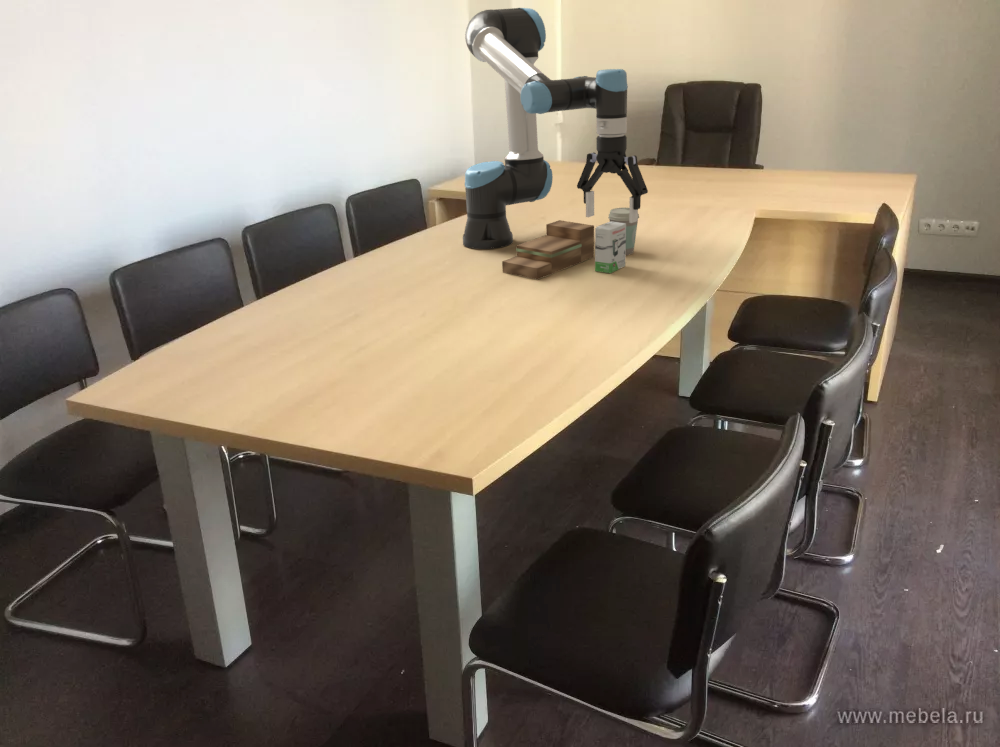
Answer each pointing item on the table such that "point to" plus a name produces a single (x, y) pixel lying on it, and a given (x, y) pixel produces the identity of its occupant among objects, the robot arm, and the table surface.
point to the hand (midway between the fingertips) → (611, 219)
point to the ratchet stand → (552, 250)
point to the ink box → (610, 246)
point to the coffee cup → (623, 217)
